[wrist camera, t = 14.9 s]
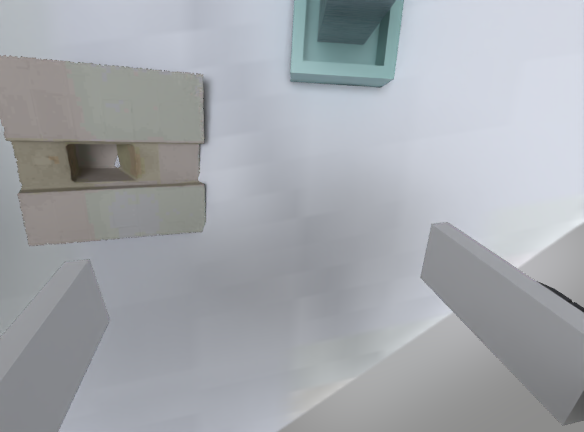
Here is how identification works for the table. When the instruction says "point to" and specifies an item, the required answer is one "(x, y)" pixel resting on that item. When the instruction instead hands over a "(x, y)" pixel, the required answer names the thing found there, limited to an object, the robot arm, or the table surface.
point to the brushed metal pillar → (350, 20)
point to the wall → (103, 149)
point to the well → (343, 50)
